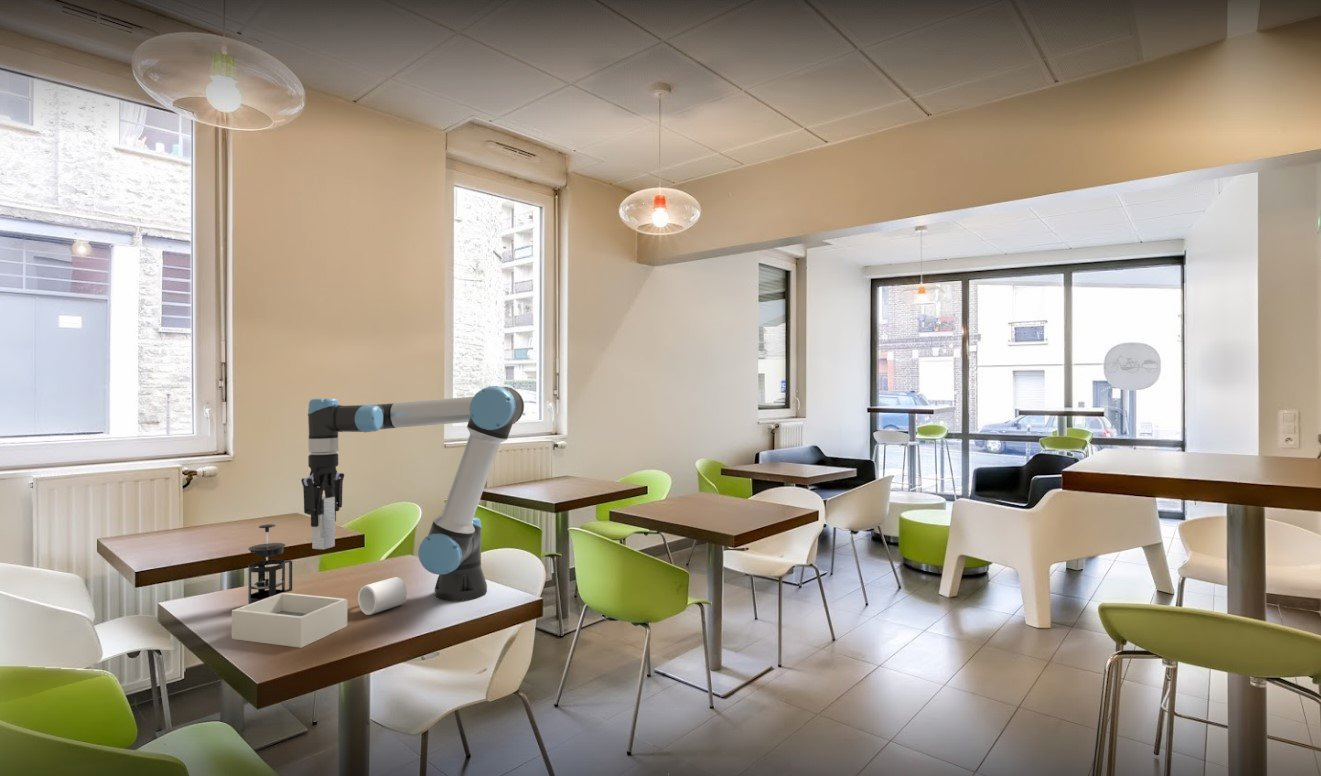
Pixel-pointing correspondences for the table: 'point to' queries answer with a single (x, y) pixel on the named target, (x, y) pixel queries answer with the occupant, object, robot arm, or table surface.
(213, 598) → the table surface
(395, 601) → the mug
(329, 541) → the peg
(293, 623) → the box
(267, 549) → the french press
